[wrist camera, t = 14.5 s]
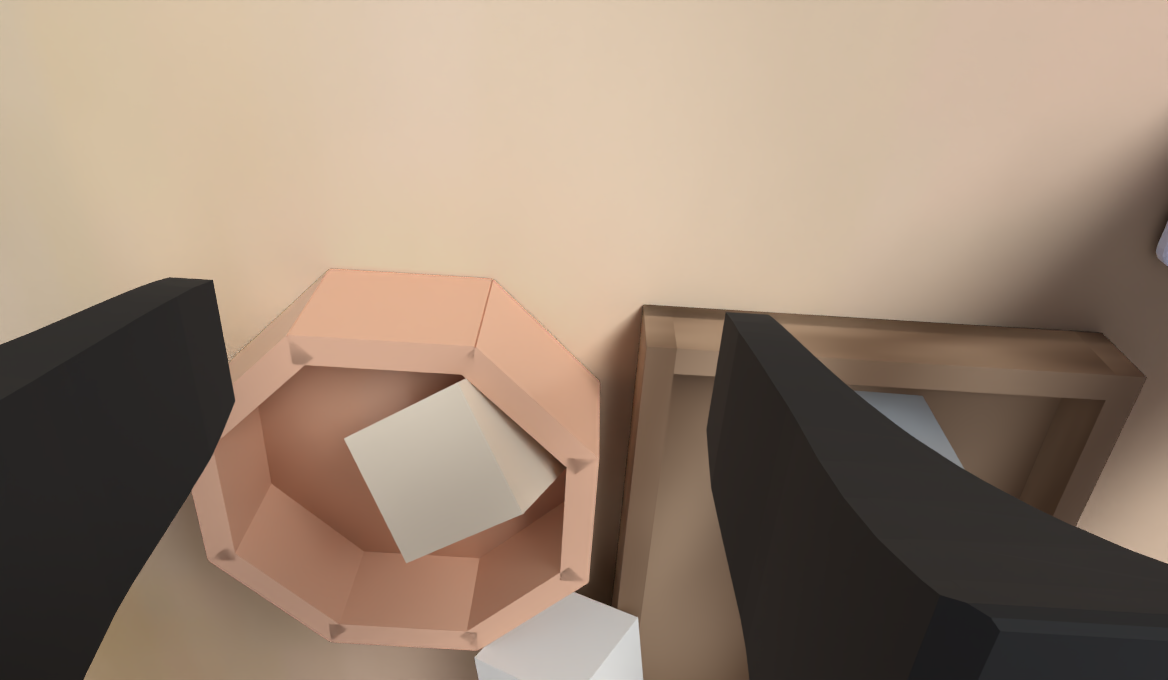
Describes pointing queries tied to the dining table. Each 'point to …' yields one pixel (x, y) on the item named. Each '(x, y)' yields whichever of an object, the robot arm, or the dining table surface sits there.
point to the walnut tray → (865, 363)
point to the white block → (567, 645)
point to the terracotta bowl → (338, 490)
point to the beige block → (450, 468)
